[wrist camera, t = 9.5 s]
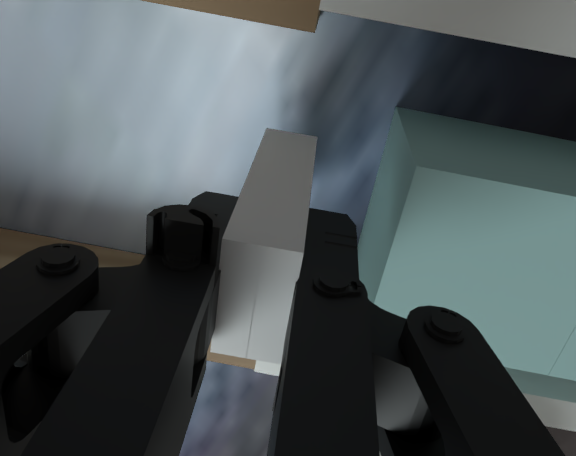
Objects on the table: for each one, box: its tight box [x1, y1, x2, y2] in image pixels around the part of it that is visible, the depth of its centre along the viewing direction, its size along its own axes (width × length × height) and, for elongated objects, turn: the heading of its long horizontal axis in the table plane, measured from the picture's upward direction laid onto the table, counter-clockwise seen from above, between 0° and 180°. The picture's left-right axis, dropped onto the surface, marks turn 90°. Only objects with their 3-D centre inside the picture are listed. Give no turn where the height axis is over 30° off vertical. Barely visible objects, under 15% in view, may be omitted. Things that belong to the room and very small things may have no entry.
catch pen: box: [254, 0, 576, 431], centre depth 16 cm, size 12×16×3 cm
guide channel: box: [0, 0, 321, 369], centre depth 16 cm, size 12×17×3 cm
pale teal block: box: [357, 107, 576, 375], centre depth 15 cm, size 5×5×5 cm
